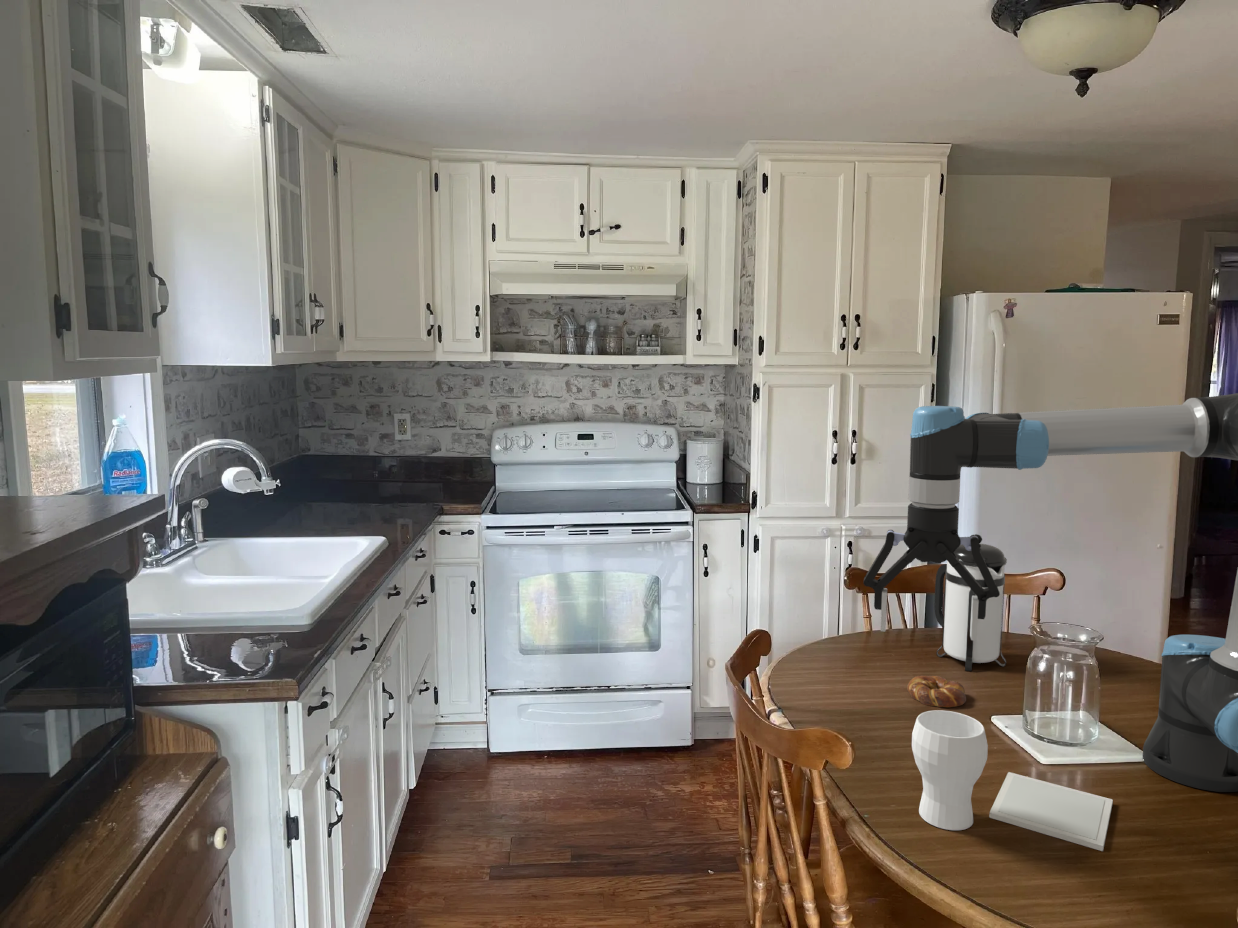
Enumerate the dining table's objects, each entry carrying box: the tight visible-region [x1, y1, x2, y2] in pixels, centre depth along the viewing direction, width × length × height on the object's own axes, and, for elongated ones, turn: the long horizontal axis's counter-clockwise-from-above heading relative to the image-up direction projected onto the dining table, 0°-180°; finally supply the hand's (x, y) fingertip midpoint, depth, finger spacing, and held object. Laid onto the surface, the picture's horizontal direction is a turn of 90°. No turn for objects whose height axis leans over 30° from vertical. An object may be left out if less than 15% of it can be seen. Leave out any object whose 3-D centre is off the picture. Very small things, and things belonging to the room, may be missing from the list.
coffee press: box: [933, 533, 1008, 672], centre depth 186 cm, size 17×16×30 cm
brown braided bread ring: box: [906, 675, 967, 708], centre depth 167 cm, size 12×11×4 cm
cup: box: [911, 709, 989, 831], centre depth 123 cm, size 11×11×15 cm
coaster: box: [988, 771, 1113, 852], centre depth 125 cm, size 15×15×1 cm
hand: (927, 633), depth 130 cm, fingers open, 13 cm apart
